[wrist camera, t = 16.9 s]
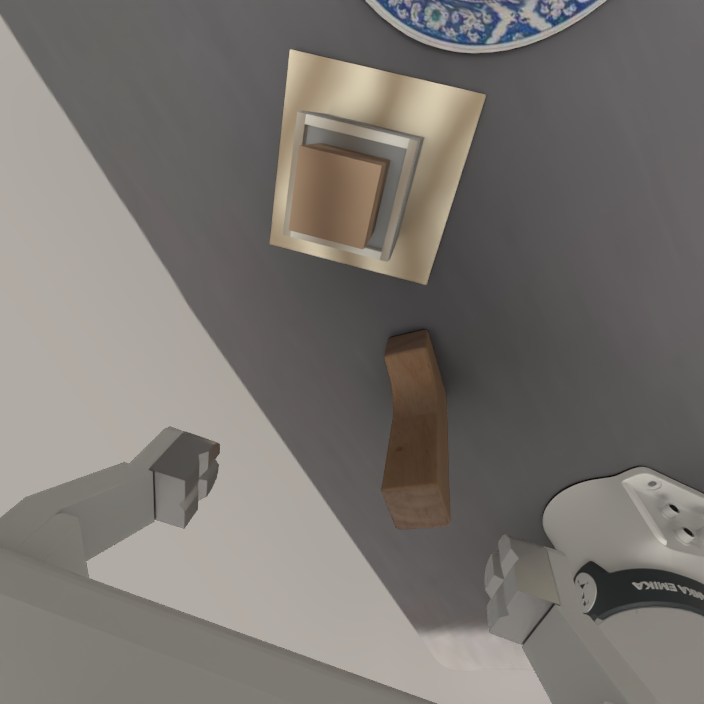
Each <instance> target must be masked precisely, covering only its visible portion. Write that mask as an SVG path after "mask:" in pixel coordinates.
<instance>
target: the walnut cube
mask: <svg viewBox="0 0 704 704" xmlns="http://www.w3.org/2000/svg"><path fill="white" fill-rule="evenodd" d="M389 165H390V160H388V159H384V158H380V157H376V156H371V155H367V154H363V153H359V152H355V151H351V150H347V149H343V148H339V147H335V146H331V145H326V144H322V143H316V144H308V145H299V151H298V159H297V167H296V175H295V183H294V191H293V199H292V207H291V215H290V223H289V230H290V231H294V232H298V233H301V234H305V235H309V236H313V237H317V238H321V239H325V240H328V241H332V242H336V243H340V244H344V245H348V246H352V247H355V248H359V249H364V247H365V246H366V244H367V243H368V241H369V239H370V238H371V236H372V235H373V233H374V230H375V225H376V221H377V217H378V212H379V208H380V204H381V199H382V195H383V191H384V186H385V182H386V178H387V173H388V169H389Z"/></svg>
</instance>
